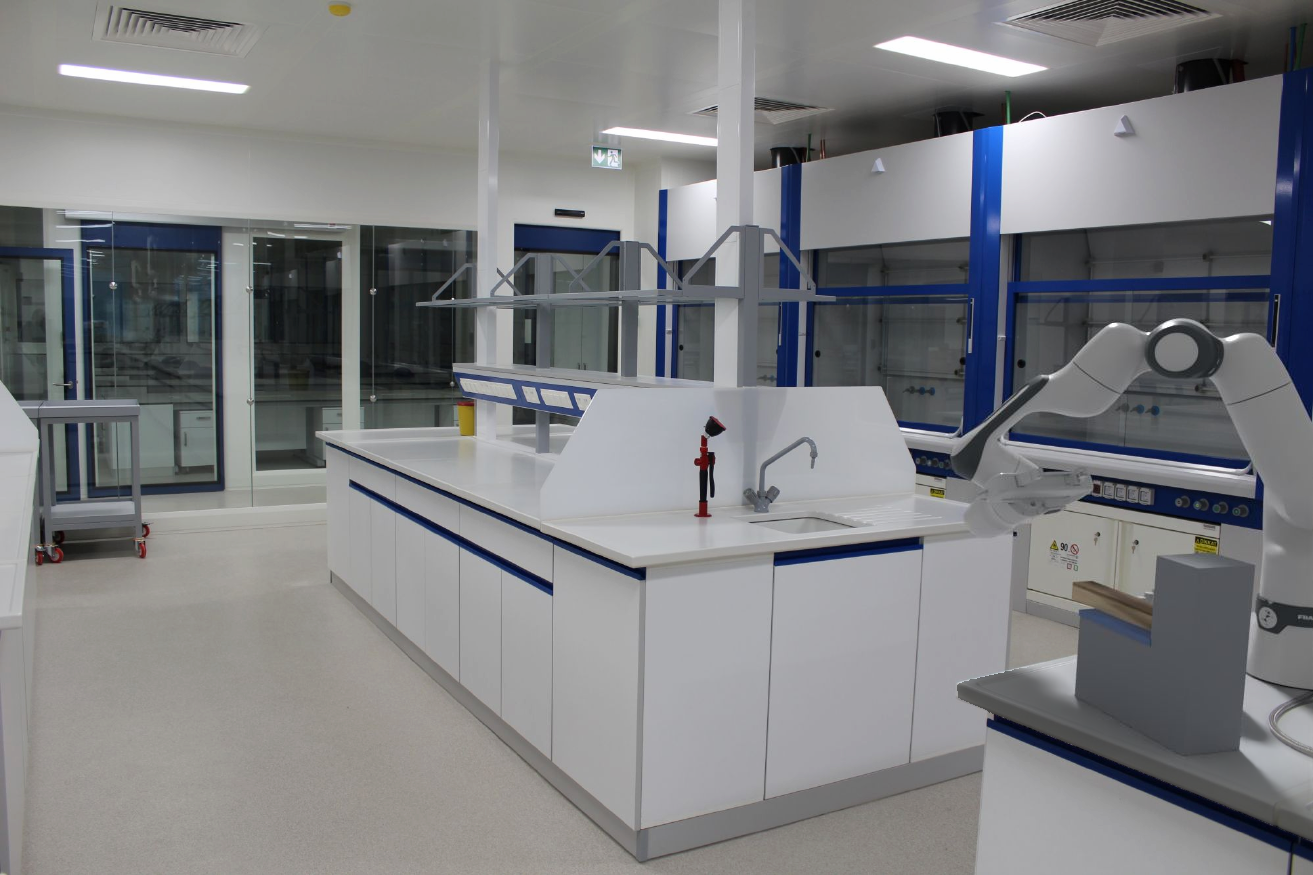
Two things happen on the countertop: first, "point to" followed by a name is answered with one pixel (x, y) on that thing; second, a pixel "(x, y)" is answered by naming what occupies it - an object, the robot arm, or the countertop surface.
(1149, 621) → the slide box
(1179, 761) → the countertop surface
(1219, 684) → the l-shaped step block
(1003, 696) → the countertop surface
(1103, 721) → the countertop surface
